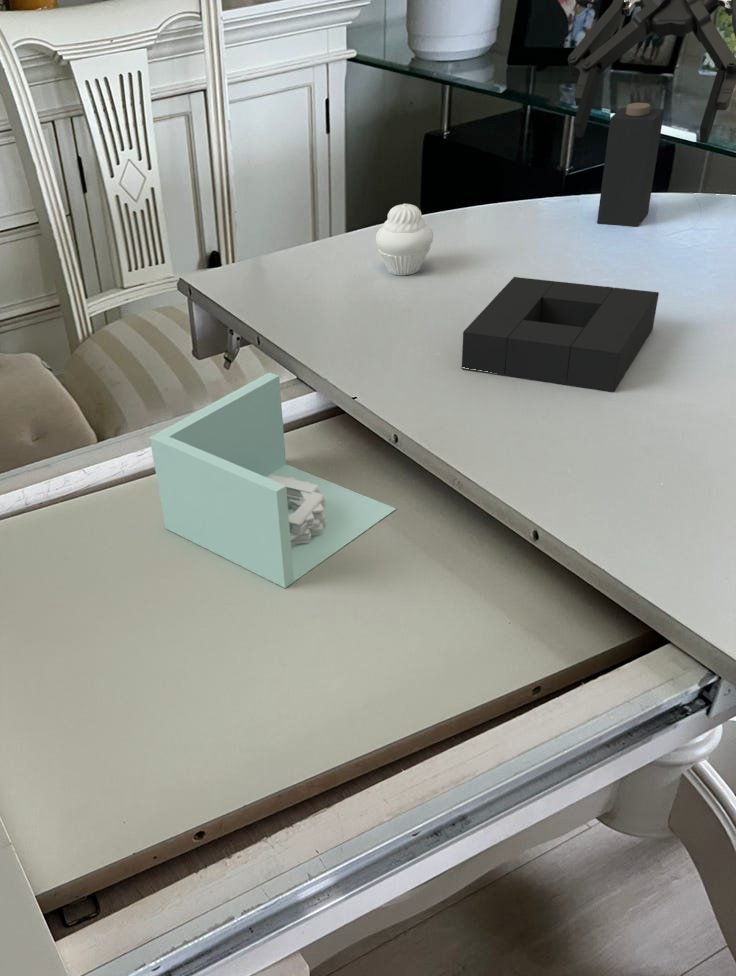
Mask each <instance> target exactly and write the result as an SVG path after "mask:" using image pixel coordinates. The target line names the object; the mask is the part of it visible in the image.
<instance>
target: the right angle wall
mask: <svg viewBox="0 0 736 976" xmlns="http://www.w3.org/2000/svg"><path fill="white" fill-rule="evenodd" d="M281 393H282V392H281V381H280V375H278V374H275V373H273V372H267V373H265V374H264V375H261V376H259V377H258V378H256V379H254V380H252V381H250V382H249V383H247V384H245V385H243V386H241V387H239V388H237V389H236V390H234V391H232V392H230V393H229V394H226V395H225V396H223V397H221V398H219V399H217V400H216V401H214V402H212V403H210V404H207V405H206V406H204V407H203V408H201V409H199V410H197V411H196V412H193V413H192V414H189V415H188V416H186V417H184V418H182V419H180V420H179V421H177V422H175V423H173V424H172V425H169V426H167V427H166V428H165V429H161V430H160V431H158V432H157V433H155V434H153V435H151V436H149V443H150V447H151V453H152V459H153V463H154V465H153V466H154V471H155V476H156V483H157V489H158V494H159V499H160V505H161V511H162V517H163V523H164V527H165V529H166V530H168V531H170V532H172V533H174V534H176V535H178V536H180V537H182V538H184V539H186V540H187V541H190V542H192V543H194V544H195V545H198V546H199V547H202V548H204V549H205V550H208V551H209V552H212V553H213V554H216V555H218V556H220V557H221V558H224V559H226V560H228V561H230V562H231V563H234V564H236V565H238V566H239V567H241V568H243V569H245V570H248V571H249V572H252V573H253V574H256V575H258V576H260V577H262V578H263V579H265V580H267V581H269V582H271V583H274V584H276V585H277V586H279V587H282V588H284V589H286V588H288V587H290V585H292V584H293V583H294V582H296V581H298V579H300V578H301V577H303V576H304V575H306V574H308V573H309V572H310V571H312V570H313V569H314V568H316V567H317V566H318V565H320V564H321V563H322V562H324V561H325V560H327V559H328V558H329V557H331V556H333V555H334V554H335V553H337V552H338V551H340V550H341V549H343V547H345V546H346V545H348V544H349V543H350V542H352V541H353V540H355V539H356V538H357V537H359V536H361V535H362V534H363V533H365V532H366V531H368V530H369V529H370V528H371V527H373V526H374V525H376V524H378V523H379V522H380V521H382V520H383V519H384V518H386V517H387V516H388V515H390V514H392V512H394V511H395V510H397V508H396V507H393V506H391V505H389V504H386V503H383V502H382V501H379V500H376V499H374V498H371V497H368V496H365V495H363V494H361V493H358V492H356V491H353V490H351V489H349V488H346V487H343V486H341V485H338V484H336V483H333V482H331V481H329V480H326V479H324V478H321V477H319V476H316V475H314V474H312V473H309V472H307V471H304V470H301V469H299V468H297V467H294V466H291V465H289V464H287V458H286V457H287V455H286V445H285V444H286V443H285V432H284V420H283V408H282V407H283V406H282V394H281Z"/></svg>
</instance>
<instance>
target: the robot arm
mask: <svg viewBox="0 0 736 976" xmlns="http://www.w3.org/2000/svg"><path fill="white" fill-rule="evenodd" d="M719 7H722V8H724V12H725V14H727V16H729V17H731V25H732V29H733V33H734V37H735V39H736V0H612V2H611V4H610V5H609V7H608V8H607V9H606V10H605V11H604V12H603V14H602V15H601V16H600V18H598V20H597V21H596V22H595V24H593V26H592V27H591V28H590V29H589V30H588V32H587V33H586V34H585V36H584V37H583V38H582V39H581V41H580V42H578V44H577V45H576V47H574V49H573V50H572V52H570V53H569V55H568V57H567V63H568V68H569V72H570V73H569V74H570V75H571V76H572V77H577V76H578V79H577V82H576V86H575V89H574V93H573V98H574V103H575V106H578V107H577V111H576V114H575V117H574V120H573V128H574V132H575V137H576V138H584V135H585V132H586V128H587V126H588V122H589V119H590V115H591V112H592V109H593V106H594V103H595V100H596V96H597V92H598V89H599V86H600V79H599V78H600V77H599V75H601V74H602V73H604V72H605V70H607V69H608V68H610V66H612V65H613V64H614V63H615V62H617V61H618V60H619V59H620V58H621V57H623V56H624V55H626V53H627V52H629V51H630V50H631V49H632V48H634V47H635V46H636V45H637V44H639V43H643V42H645V41H646V40H647V39H649V37H651V36H652V35H653V34H656V37H667V36H671V35H672V36H675V37H686V35H687V34H690V33H693V35H694V36H695V38H696V39H697V41H698V43H701V45H702V46H703V48H704V50H705V51H706V53H707V54H708V56H709V57H710V59H711V61H712V63H713V64H714V66H715V68H716V69H717V71H716V74H715V77H714V80H713V83H712V87H711V90H710V92H709V97H708V100H707V104H706V106H705V109H704V113H703V116H702V120H701V122H700V127H699V143H700V144H708V142H709V138H710V135H711V132H712V129H713V126H714V123H715V122H714V121H715V119H716V116H717V112H718V111H727V109H728V108H729V107H730V104H731V100H732V97H733V94H734V91H735V88H736V57H735V55H734V53H733V52H732V51H731V49H730V47H729V46H728V43H726V41H725V39H724V38H723V36H722V34H721V33H720V32H719V30H718V28H717V26H716V25H715V24H714V22H713V20H712V17H711V16H712V14H713V13H715V12H716V11H717V10H718V8H719ZM636 8H640V9H639V10H638V12H636V13H635V14H634V15H633V17H632V19H631V21H629V22H628V23H627V24H626V25H624V27H622V28H621V29H619V30H618V31H617V29H618V28H619V27H620V26H621V25H622V24H623V21H624V19H625V17H629V16H630V15H631V13H632V12H633V11H634V10H635V9H636ZM616 31H617V32H616ZM615 32H616V33H615ZM614 33H615V34H614ZM613 34H614V35H613Z"/></svg>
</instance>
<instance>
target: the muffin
mask: <svg viewBox="0 0 736 976" xmlns="http://www.w3.org/2000/svg"><path fill="white" fill-rule="evenodd" d="M422 216H423V215H422V211H421V209H420V208H419V207H418V206H417V205H414V204H411V203H405V202H404V203H402V204H398V205H394V206H393V207H392V208H390V210H389V211H388V212H387V219H386V220H385V221H384V222H383V225H382V226H381V227H380V228H379V229H378V231H377V232H376V234H375V243H376V246H377V250H378V253H379V255H380V257H381V258H382V261H383V263H384V265H385V266H386V269H387V270H388V272H389V273H390V274H392V275H394V276H409V275H410V276H411V275H414V274H416V273H417V272H419V271H420V269H421V267H422V265H423V263H424V261H425V259H426V257H427V255H428V253H429V252H430V250H431V245H432V243H433V241H434V232H433V229H432V228H431V227H430V226H429V225H428V224H427V223H426V221H425V219H424V218H423V217H422Z"/></svg>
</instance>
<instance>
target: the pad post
mask: <svg viewBox="0 0 736 976" xmlns="http://www.w3.org/2000/svg"><path fill="white" fill-rule="evenodd" d="M664 114H665V109H664V108H651V104H650V103H648V102H632V103H629V104H627V105H626V107H621V108H619V109H618V110H617V111H616V112H615V113H614V114H613V115H612V116H611V117H610V118H609V125H608V134H607V142H606V150H605V157H604V165H603V173H602V182H601V188H600V197H599V205H598V212H597V220H596V223H597V224H602V225H614V226H615V225H616V226H627V227H639V226H640V224H641V223H642V222H643V221H644V219H645V218H646V217H647V215H648V214H649V209H650V203H651V198H652V197H651V196H652V191H653V184H654V178H655V172H656V166H657V159H658V152H659V146H660V140H661V133H662V127H663V120H664V116H665V115H664Z"/></svg>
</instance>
